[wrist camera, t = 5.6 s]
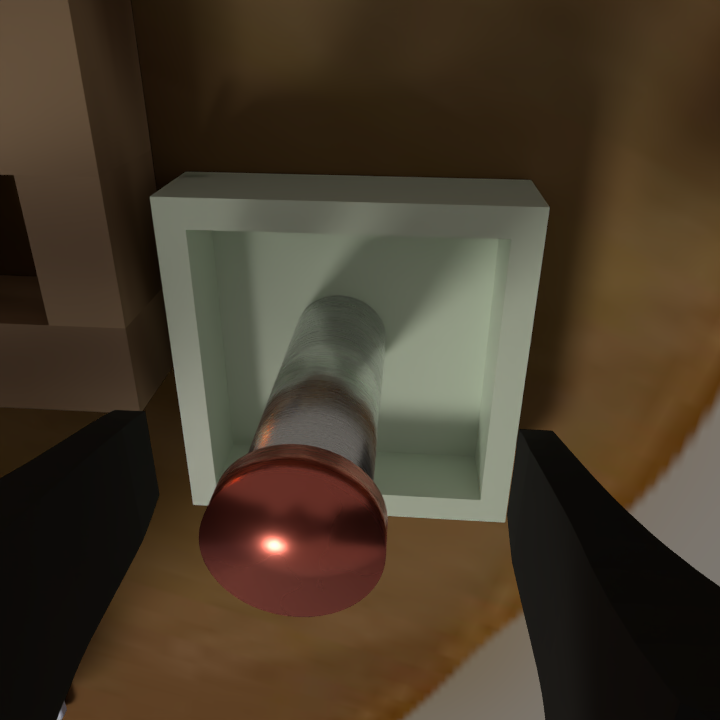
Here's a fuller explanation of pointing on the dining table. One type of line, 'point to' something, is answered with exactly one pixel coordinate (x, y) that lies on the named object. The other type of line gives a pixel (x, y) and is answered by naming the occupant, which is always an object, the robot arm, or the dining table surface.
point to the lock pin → (308, 475)
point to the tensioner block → (79, 211)
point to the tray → (377, 289)
